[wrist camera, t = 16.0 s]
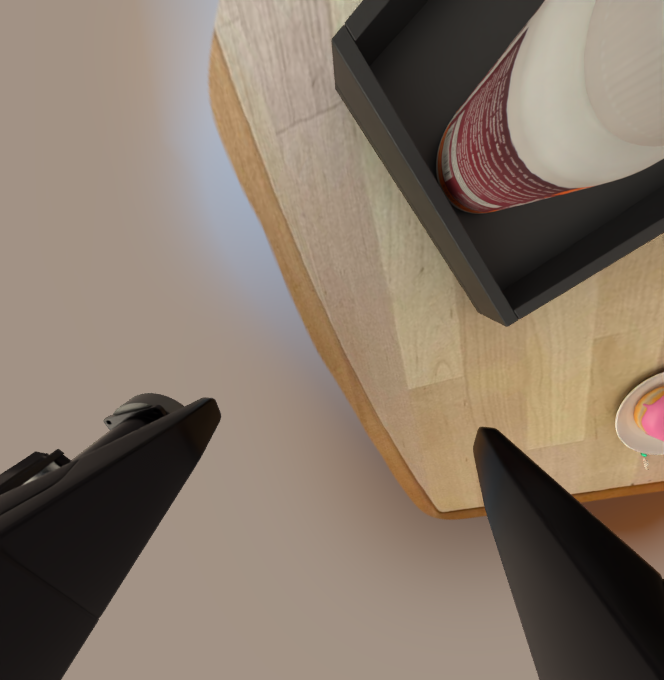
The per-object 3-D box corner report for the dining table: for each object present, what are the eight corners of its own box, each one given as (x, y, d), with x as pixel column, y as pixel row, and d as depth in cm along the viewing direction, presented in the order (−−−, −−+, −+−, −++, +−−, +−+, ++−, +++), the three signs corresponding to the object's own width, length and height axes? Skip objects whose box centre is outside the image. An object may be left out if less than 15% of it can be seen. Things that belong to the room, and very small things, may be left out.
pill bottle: (484, 234, 16) (752, 210, 5) (412, 177, 15) (561, 10, 4) (565, 136, 14) (1285, -229, 3) (486, 62, 13) (1131, -800, 2)
